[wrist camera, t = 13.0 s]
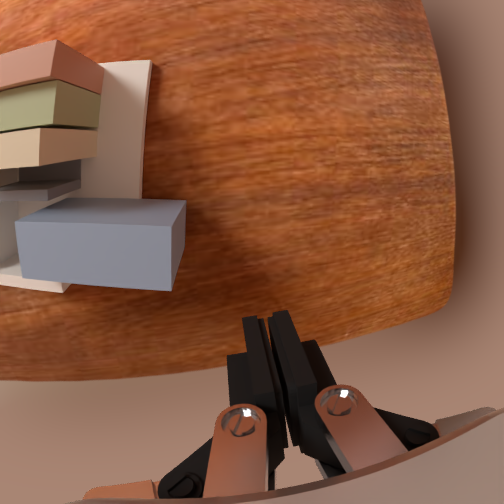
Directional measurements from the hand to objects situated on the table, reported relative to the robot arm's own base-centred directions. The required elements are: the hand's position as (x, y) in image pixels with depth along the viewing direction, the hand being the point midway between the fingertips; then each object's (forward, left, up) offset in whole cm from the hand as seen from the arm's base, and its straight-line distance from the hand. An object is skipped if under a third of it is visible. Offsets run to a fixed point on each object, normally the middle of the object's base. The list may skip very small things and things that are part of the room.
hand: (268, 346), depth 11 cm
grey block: (0, -10, -16) cm, 19 cm away
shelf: (-5, -16, -17) cm, 24 cm away
